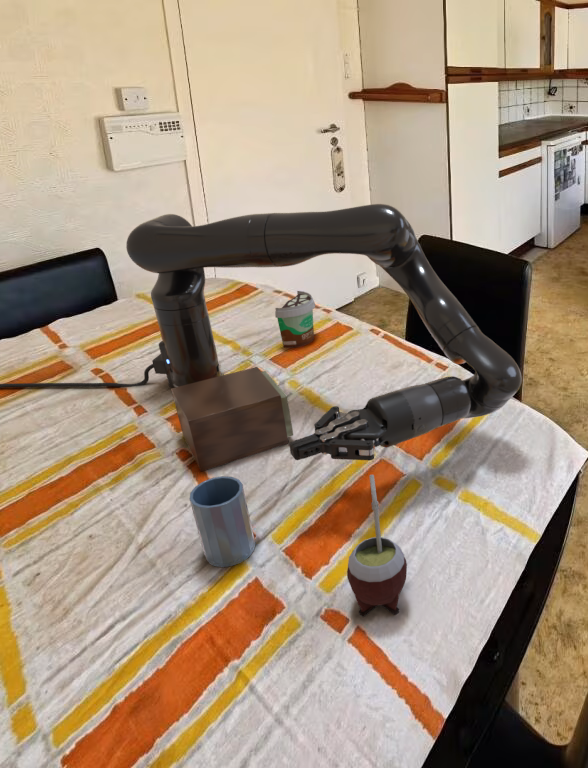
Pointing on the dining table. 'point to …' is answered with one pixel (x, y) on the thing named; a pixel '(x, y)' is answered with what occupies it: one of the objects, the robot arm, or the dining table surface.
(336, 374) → the dining table surface
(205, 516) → the cup
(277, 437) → the cabinet
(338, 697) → the dining table surface
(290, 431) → the drawer
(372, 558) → the mate gourd
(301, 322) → the food container
